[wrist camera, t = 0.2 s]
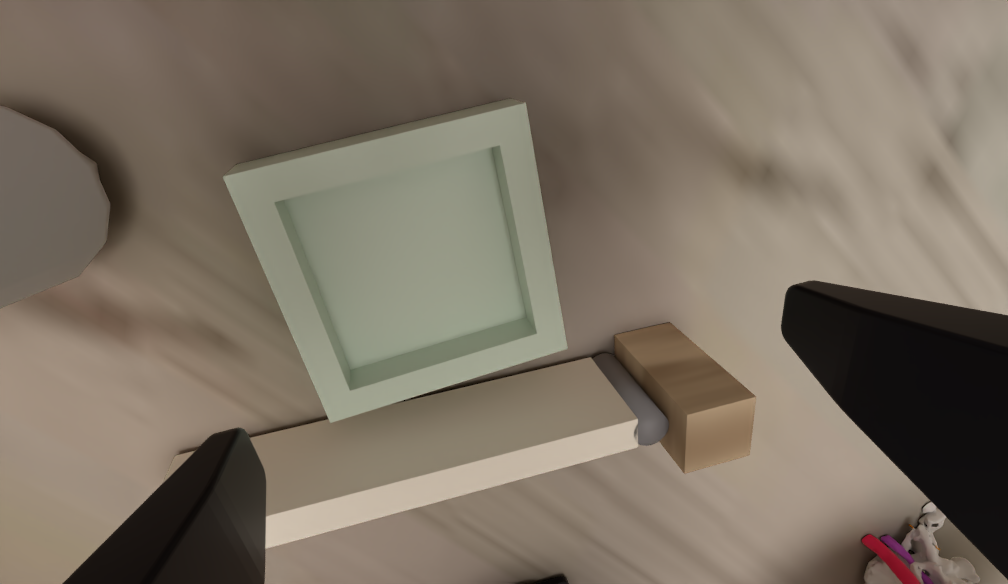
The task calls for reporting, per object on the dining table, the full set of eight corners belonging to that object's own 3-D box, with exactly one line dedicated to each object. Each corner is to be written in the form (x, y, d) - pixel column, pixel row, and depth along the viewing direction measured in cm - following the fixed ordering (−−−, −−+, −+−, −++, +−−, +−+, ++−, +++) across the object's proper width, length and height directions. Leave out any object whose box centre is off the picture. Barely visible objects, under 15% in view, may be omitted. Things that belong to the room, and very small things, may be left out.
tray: (551, 326, 25) (567, 348, 23) (332, 392, 24) (330, 423, 22) (509, 98, 21) (525, 102, 19) (236, 164, 19) (222, 177, 17)
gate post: (668, 371, 28) (749, 455, 22) (615, 385, 28) (684, 473, 22) (669, 322, 27) (756, 396, 21) (614, 335, 26) (687, 415, 21)
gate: (617, 376, 27) (668, 440, 23) (188, 482, 24) (149, 581, 19) (617, 349, 27) (669, 409, 22) (174, 454, 23) (130, 550, 19)
